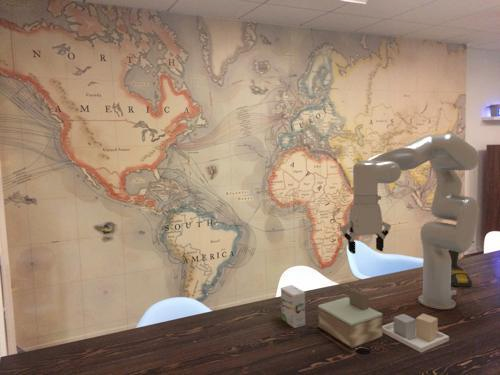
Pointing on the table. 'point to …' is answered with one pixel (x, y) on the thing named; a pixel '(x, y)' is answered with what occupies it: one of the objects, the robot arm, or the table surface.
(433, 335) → the sandstone block
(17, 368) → the table surface
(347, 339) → the birch box
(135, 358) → the table surface
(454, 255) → the power drill
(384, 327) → the white tray
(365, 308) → the sage lid
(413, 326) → the granite block
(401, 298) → the table surface
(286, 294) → the ink box
